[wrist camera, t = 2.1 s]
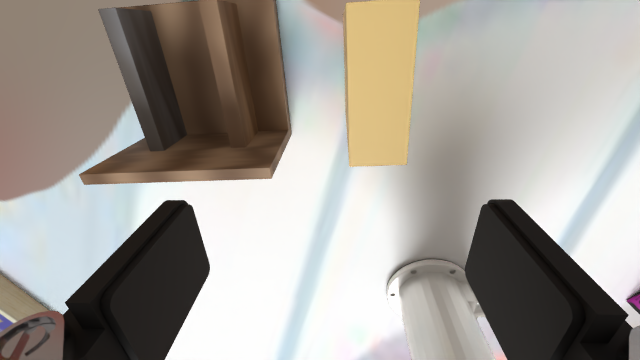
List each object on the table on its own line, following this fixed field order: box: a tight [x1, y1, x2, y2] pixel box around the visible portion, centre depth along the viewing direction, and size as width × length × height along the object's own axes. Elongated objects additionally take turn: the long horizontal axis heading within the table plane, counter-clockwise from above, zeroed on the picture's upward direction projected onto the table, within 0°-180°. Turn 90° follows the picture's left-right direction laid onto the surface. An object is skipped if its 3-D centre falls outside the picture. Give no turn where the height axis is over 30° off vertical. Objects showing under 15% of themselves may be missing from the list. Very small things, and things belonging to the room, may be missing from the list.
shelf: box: [79, 0, 291, 185], centre depth 27 cm, size 17×14×12 cm
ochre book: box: [343, 0, 420, 167], centre depth 24 cm, size 4×10×14 cm, turn 4°
